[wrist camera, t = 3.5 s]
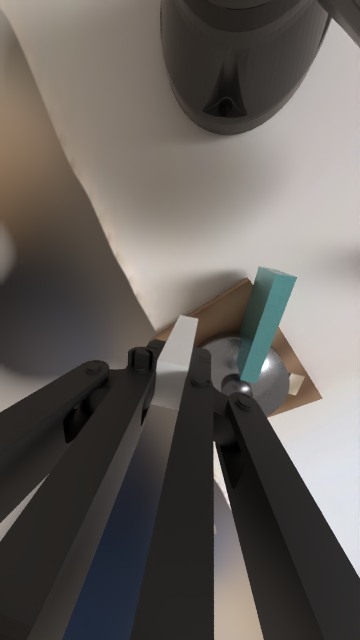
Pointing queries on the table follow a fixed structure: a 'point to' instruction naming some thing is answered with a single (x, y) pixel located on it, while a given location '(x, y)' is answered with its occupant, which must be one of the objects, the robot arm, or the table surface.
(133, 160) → the table surface
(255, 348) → the dial
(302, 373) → the stand
